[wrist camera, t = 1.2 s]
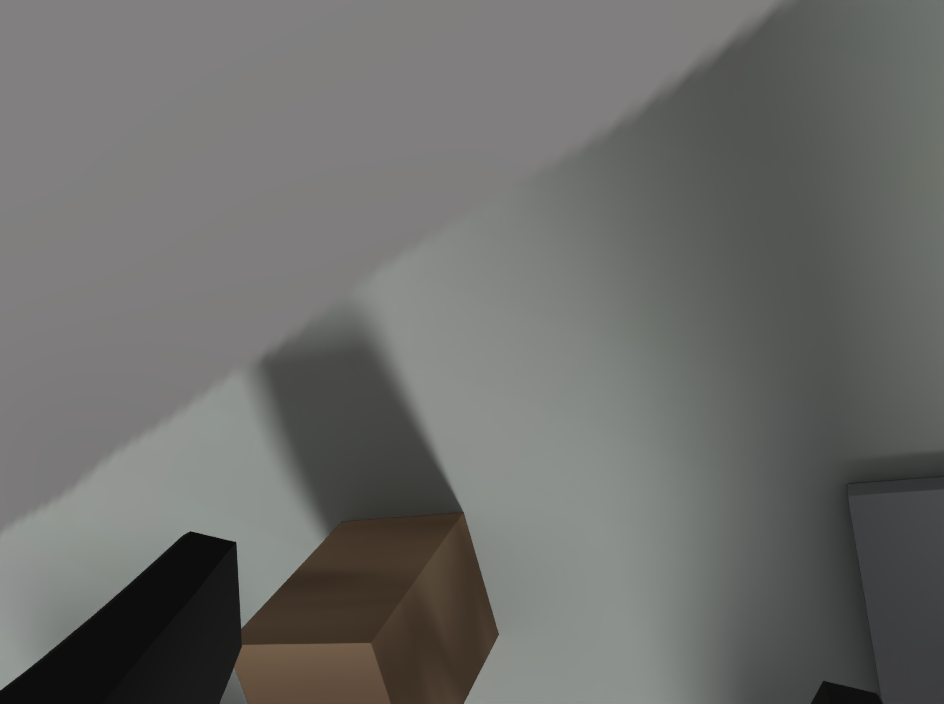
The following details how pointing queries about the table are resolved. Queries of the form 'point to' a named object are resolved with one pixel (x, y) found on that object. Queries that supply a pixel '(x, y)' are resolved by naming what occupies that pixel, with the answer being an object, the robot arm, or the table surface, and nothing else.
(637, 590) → the table surface
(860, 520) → the pad
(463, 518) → the block
